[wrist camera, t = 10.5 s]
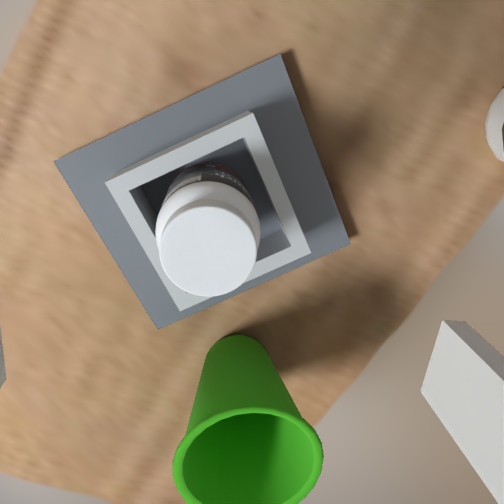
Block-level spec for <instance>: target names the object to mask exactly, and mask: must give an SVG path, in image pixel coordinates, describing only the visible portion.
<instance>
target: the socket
mask: <svg viewBox="0 0 504 504" xmlns="http://www.w3.org/2000/svg"><path fill="white" fill-rule="evenodd" d="M53 162H54V163H55V165H56V167H57V168H58V170H59V171H60V173H61V175H62V176H63V178H64V179H65V181H66V183H67V184H68V186H69V188H70V189H71V191H72V192H73V194H74V196H75V197H76V199H77V200H78V202H79V204H80V205H81V207H82V208H83V210H84V212H85V213H86V215H87V217H88V218H89V220H90V221H91V223H92V225H93V226H94V228H95V229H96V231H97V233H98V234H99V236H100V238H101V239H102V241H103V242H104V244H105V246H106V247H107V249H108V250H109V252H110V254H111V255H112V257H113V258H114V260H115V262H116V263H117V265H118V267H119V268H120V270H121V271H122V273H123V275H124V276H125V278H126V279H127V281H128V283H129V284H130V286H131V287H132V289H133V291H134V292H135V294H136V296H137V297H138V299H139V300H140V302H141V304H142V305H143V307H144V308H145V310H146V312H147V313H148V315H149V317H150V318H151V320H152V321H153V323H154V325H155V326H156V328H157V329H160V328H163V327H165V326H167V325H169V324H172V323H174V322H176V321H178V320H181V319H183V318H185V317H187V316H190V315H192V314H194V313H196V312H199V311H201V310H203V309H205V308H208V307H210V306H212V305H214V304H217V303H219V302H221V301H223V300H226V299H228V298H230V297H232V296H235V295H237V294H239V293H241V292H244V291H246V290H248V289H250V288H253V287H255V286H257V285H259V284H262V283H264V282H266V281H268V280H271V279H273V278H275V277H277V276H280V275H282V274H284V273H286V272H289V271H291V270H293V269H295V268H298V267H300V266H302V265H304V264H307V263H309V262H311V261H313V260H316V259H318V258H320V257H322V256H325V255H327V254H329V253H331V252H334V251H336V250H338V249H340V248H343V247H345V246H347V245H349V244H351V243H350V241H349V238H348V235H347V233H346V230H345V227H344V224H343V222H342V219H341V216H340V214H339V211H338V208H337V206H336V203H335V200H334V197H333V195H332V192H331V189H330V187H329V184H328V181H327V179H326V176H325V173H324V170H323V168H322V165H321V162H320V160H319V157H318V154H317V152H316V149H315V146H314V143H313V141H312V138H311V135H310V133H309V130H308V127H307V125H306V122H305V119H304V116H303V114H302V111H301V108H300V106H299V103H298V100H297V98H296V95H295V92H294V89H293V87H292V84H291V81H290V79H289V76H288V73H287V71H286V68H285V65H284V62H283V60H282V57H281V54H278V55H276V56H274V57H272V58H270V59H268V60H266V61H264V62H262V63H259V64H257V65H255V66H253V67H251V68H249V69H247V70H245V71H243V72H241V73H238V74H236V75H234V76H232V77H230V78H228V79H226V80H224V81H222V82H219V83H217V84H215V85H213V86H211V87H209V88H207V89H205V90H203V91H201V92H198V93H196V94H194V95H192V96H190V97H188V98H186V99H184V100H182V101H179V102H177V103H175V104H173V105H171V106H169V107H167V108H165V109H163V110H161V111H158V112H156V113H154V114H152V115H150V116H148V117H146V118H144V119H142V120H139V121H137V122H135V123H133V124H131V125H129V126H127V127H125V128H123V129H120V130H118V131H116V132H114V133H112V134H110V135H108V136H106V137H104V138H102V139H99V140H97V141H95V142H93V143H91V144H89V145H87V146H85V147H83V148H80V149H78V150H76V151H74V152H72V153H70V154H68V155H66V156H64V157H62V158H59V159H57V160H55V161H53ZM201 163H214V164H219V165H222V166H225V167H227V168H229V169H230V170H232V171H233V172H235V173H236V174H237V175H238V176H239V177H240V178H241V179H242V181H243V182H244V184H245V185H246V187H247V190H248V192H249V194H250V197H251V200H252V203H253V205H254V207H255V210H256V212H257V215H258V219H259V223H260V232H261V234H260V243H259V247H258V250H257V258H256V263H255V266H254V268H253V271H252V272H251V274H250V276H249V277H248V278H247V280H246V281H245V282H244V283H243V284H242V285H240V286H239V287H238V288H236V289H235V290H233V291H231V292H229V293H226V294H223V295H219V296H212V297H204V296H197V295H193V294H191V293H188V292H186V291H184V290H182V289H180V288H179V287H177V286H176V285H175V284H174V283H173V282H172V281H171V280H170V279H169V278H168V276H167V275H166V273H165V272H164V270H163V267H162V265H161V261H160V256H159V249H158V246H157V242H156V233H155V230H156V222H157V218H158V214H159V212H160V209H161V207H162V204H163V202H164V199H165V197H166V194H167V192H168V189H169V187H170V185H171V183H172V182H173V180H174V179H175V178H176V177H177V176H178V175H179V174H180V173H181V172H182V171H184V170H185V169H187V168H189V167H191V166H193V165H196V164H201Z"/></svg>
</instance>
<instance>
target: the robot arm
mask: <svg viewBox="0 0 504 504" xmlns="http://www.w3.org/2000/svg"><path fill="white" fill-rule="evenodd" d="M5 380H6V372H5V363H4V354H3V346H2V337H1V328H0V388H1V386H2V385H3V383H4V382H5ZM421 393H422V394H423V396H424V397H425V399H426V400H427V402H428V403H429V404H430V406H431V407H432V409H433V410H434V412H435V413H436V414H437V416H438V417H439V419H440V420H441V422H442V423H443V424H444V426H445V427H446V429H447V430H448V432H449V433H450V435H451V436H452V437H453V439H454V440H455V442H456V443H457V444H458V446H459V448H460V449H461V450H462V452H463V453H464V455H465V456H466V458H467V459H468V460H469V462H470V463H471V465H472V466H473V468H474V469H475V471H476V472H477V473H478V474H479V476H480V478H481V479H482V481H483V482H484V483H485V485H486V486H487V488H488V489H489V491H490V492H491V494H492V495H493V496H494V498H495V499H496V501H497V502H498V503H499V504H504V356H503V355H502V354H500V353H499V352H498V351H497V350H496V349H495V348H494V347H493V346H492V345H491V344H490V343H488V342H487V341H486V340H485V339H484V338H483V337H482V336H481V335H480V334H479V333H477V332H476V331H475V330H474V329H473V328H472V327H471V326H470V325H469V324H468V323H466V322H465V321H451V320H442V323H441V327H440V330H439V334H438V336H437V340H436V343H435V346H434V349H433V353H432V356H431V359H430V362H429V366H428V369H427V372H426V375H425V379H424V382H423V385H422V388H421Z"/></svg>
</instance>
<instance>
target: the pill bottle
mask: <svg viewBox="0 0 504 504" xmlns="http://www.w3.org/2000/svg"><path fill="white" fill-rule="evenodd" d="M155 233H156V242H157V246H158V249H159V256H160V261H161V265H162V267H163V270H164V272H165V273H166V275H167V276H168V278H169V279H170V280H171V281H172V282H173V283H174V284H175V285H176V286H177V287H179V288H180V289H182V290H184V291H186V292H188V293H191V294H193V295H197V296H204V297H212V296H219V295H223V294H226V293H229V292H231V291H233V290H235V289H236V288H238V287H239V286H240V285H242V284H243V283H244V282H245V281H246V280H247V278H248V277H249V276H250V274H251V272H252V271H253V268H254V266H255V263H256V258H257V250H258V247H259V243H260V234H261V232H260V223H259V219H258V215H257V212H256V210H255V207H254V205H253V203H252V200H251V197H250V194H249V192H248V190H247V187H246V185H245V184H244V182H243V181H242V179H241V178H240V177H239V176H238V175H237V174H236V173H235V172H233V171H232V170H230V169H229V168H227V167H225V166H222V165H219V164H214V163H201V164H196V165H193V166H191V167H189V168H187V169H185V170H184V171H182V172H181V173H180V174H179V175H178V176H177V177H176V178H175V179H174V180H173V182H172V183H171V185H170V187H169V189H168V192H167V194H166V197H165V199H164V202H163V204H162V207H161V209H160V212H159V214H158V218H157V222H156V230H155Z"/></svg>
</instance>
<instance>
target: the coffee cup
mask: <svg viewBox="0 0 504 504" xmlns="http://www.w3.org/2000/svg"><path fill="white" fill-rule="evenodd" d="M485 131H486V140H487V142H488V144H489V146H490V147H491V149H492V151H493V152H494V154H495V156H496V157H497V158H498V159H499V160H501V161H502V162H504V88H502V89H501V90H500V91H499V93H498V94H497V96H496V97H495V99H494V100H493V102H492V104H491V105H490V107H489V110H488V114H487V118H486V121H485Z"/></svg>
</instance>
